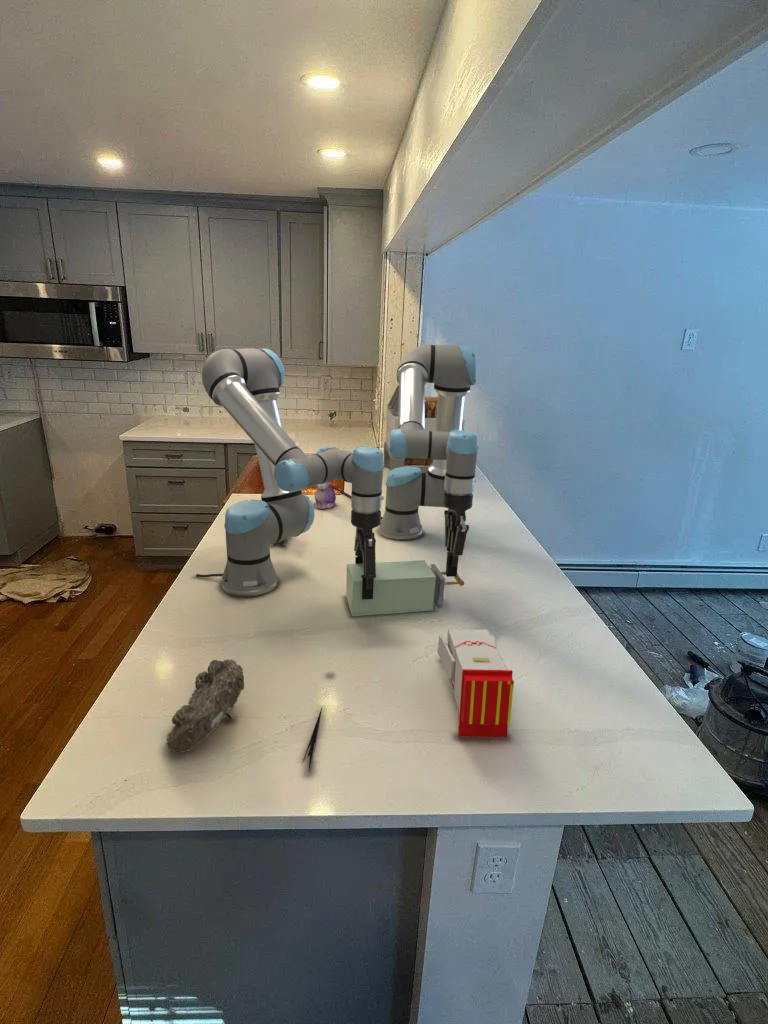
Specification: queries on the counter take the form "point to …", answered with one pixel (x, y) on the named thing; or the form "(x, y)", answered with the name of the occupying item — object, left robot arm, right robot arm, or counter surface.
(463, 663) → the toy
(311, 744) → the feather
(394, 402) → the transformer
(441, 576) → the drawer
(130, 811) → the counter surface
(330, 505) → the figurine
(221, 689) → the fossil
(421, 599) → the cabinet
